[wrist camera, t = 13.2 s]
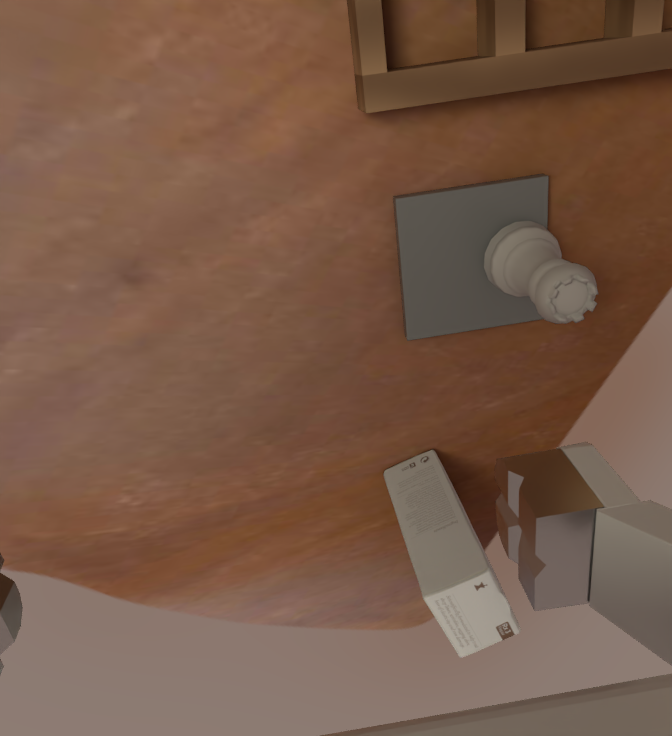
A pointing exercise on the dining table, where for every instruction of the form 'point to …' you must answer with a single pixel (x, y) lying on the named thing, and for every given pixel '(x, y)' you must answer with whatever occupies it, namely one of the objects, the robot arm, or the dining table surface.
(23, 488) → the dining table surface
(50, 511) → the dining table surface
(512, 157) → the dining table surface
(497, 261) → the rook chess piece
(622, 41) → the three-compartment wooden tray
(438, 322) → the coaster
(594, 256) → the dining table surface
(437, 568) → the skincare box
